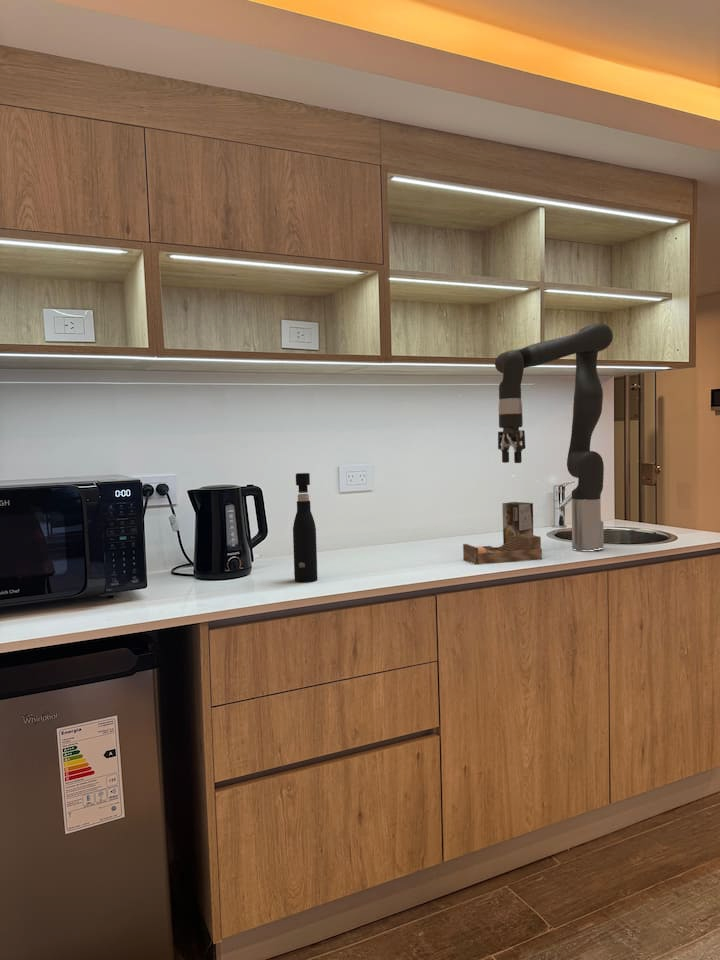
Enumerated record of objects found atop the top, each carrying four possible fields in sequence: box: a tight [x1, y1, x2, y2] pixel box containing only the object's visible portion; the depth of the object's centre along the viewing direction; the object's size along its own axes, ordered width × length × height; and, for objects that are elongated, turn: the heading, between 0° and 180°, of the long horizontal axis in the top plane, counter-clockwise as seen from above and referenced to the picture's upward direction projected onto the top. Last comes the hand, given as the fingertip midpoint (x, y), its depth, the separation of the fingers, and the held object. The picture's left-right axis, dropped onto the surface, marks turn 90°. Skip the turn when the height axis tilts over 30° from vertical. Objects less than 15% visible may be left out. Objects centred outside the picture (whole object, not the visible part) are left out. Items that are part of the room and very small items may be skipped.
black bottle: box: [292, 472, 319, 584], centre depth 188 cm, size 6×6×30 cm
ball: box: [476, 546, 487, 553], centre depth 211 cm, size 5×5×5 cm
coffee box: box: [501, 501, 534, 545], centre depth 232 cm, size 9×6×16 cm
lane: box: [462, 534, 543, 565], centre depth 213 cm, size 22×9×7 cm, turn 104°
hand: (511, 462), depth 221 cm, fingers open, 8 cm apart
